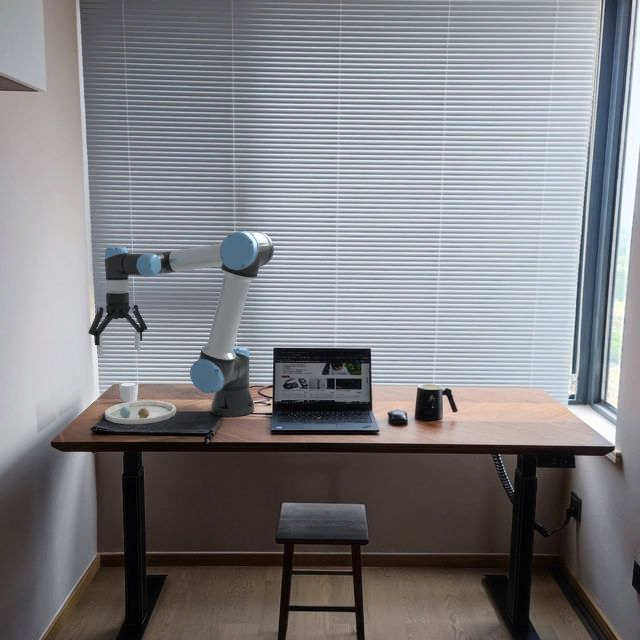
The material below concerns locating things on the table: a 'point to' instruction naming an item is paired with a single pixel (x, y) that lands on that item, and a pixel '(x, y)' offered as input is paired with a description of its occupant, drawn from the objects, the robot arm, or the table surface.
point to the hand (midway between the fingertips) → (119, 352)
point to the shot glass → (128, 391)
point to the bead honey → (143, 413)
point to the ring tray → (155, 408)
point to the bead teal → (125, 412)
